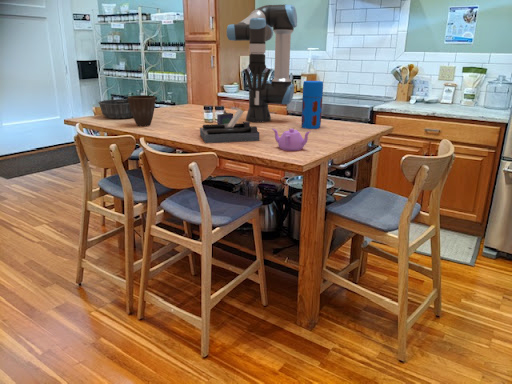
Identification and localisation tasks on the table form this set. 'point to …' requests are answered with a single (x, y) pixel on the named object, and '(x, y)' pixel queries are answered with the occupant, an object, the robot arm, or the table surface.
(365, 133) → the table surface
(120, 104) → the bundt pan
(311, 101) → the thermos
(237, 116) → the lever
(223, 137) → the tray
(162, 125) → the table surface
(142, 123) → the plant pot
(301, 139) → the teapot
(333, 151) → the table surface
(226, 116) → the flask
